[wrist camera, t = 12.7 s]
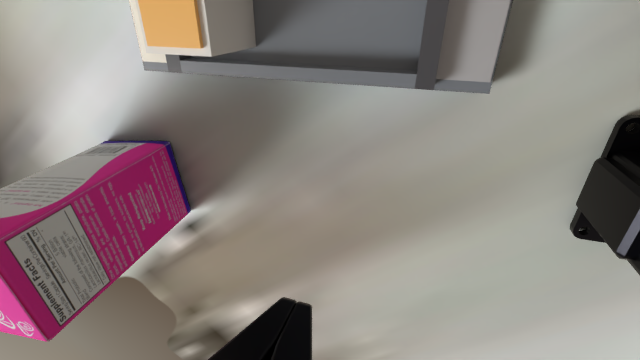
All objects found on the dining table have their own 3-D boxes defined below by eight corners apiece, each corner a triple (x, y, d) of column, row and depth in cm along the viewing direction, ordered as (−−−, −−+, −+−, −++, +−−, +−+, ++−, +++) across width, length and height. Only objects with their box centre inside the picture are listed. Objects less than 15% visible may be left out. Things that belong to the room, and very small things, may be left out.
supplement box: (133, 209, 26) (-39, 327, 16) (105, 139, 24) (-118, 229, 14) (194, 214, 25) (45, 348, 15) (172, 139, 22) (-27, 242, 12)
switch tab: (250, -25, 15) (196, -36, 11) (256, 46, 16) (208, 57, 13) (192, -24, 15) (123, -35, 12) (202, 44, 17) (143, 53, 13)
